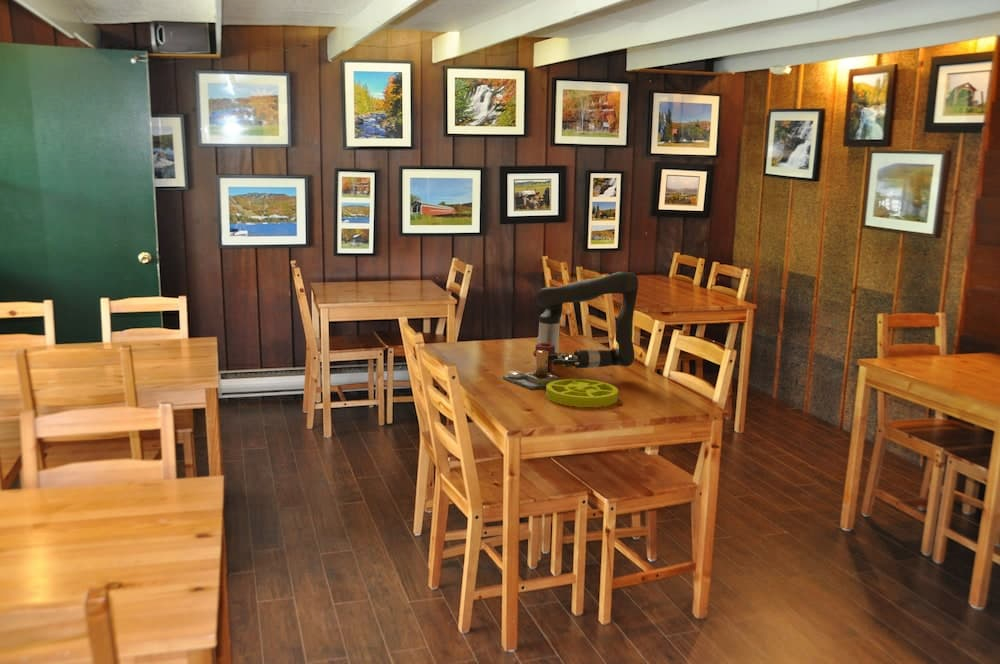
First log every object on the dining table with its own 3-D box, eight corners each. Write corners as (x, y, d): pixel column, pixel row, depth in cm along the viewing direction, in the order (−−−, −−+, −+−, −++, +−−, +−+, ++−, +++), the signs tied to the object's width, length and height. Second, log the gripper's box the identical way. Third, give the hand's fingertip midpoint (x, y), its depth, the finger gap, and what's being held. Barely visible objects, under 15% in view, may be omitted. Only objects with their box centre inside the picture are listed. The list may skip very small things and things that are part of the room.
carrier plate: (502, 378, 372) (503, 370, 371) (533, 374, 381) (533, 366, 380) (531, 389, 356) (531, 382, 355) (562, 385, 365) (563, 377, 364)
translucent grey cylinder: (530, 379, 368) (532, 350, 366) (542, 377, 371) (543, 349, 369) (539, 382, 363) (540, 353, 361) (551, 380, 367) (552, 352, 364)
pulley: (534, 391, 355) (534, 379, 354) (595, 386, 366) (596, 375, 365) (566, 411, 330) (567, 398, 329) (631, 405, 341) (631, 392, 340)
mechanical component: (533, 367, 393) (556, 368, 392) (531, 372, 384) (555, 374, 383) (534, 339, 391) (557, 341, 390) (533, 344, 381) (556, 346, 380)
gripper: (581, 346, 377) (544, 347, 373) (593, 353, 364) (556, 355, 359) (580, 363, 379) (543, 364, 374) (592, 371, 365) (555, 373, 361)
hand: (549, 360), depth 367 cm, fingers open, 8 cm apart
